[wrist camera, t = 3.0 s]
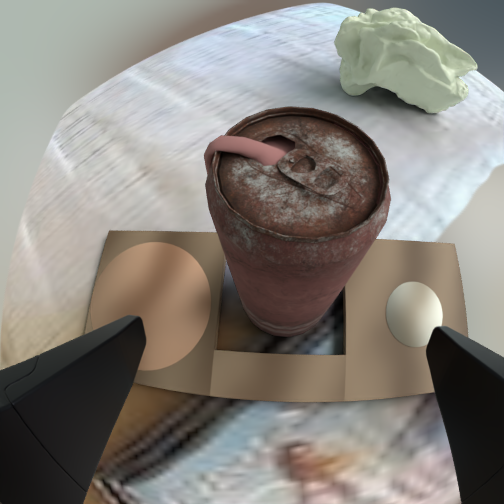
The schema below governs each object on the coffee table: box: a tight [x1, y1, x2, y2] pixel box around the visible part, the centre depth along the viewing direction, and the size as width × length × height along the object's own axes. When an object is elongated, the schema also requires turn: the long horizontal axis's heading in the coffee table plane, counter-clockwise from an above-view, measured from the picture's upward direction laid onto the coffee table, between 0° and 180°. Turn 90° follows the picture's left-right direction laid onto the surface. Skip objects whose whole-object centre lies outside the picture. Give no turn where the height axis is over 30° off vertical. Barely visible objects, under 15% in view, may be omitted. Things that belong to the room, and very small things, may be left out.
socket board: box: [85, 231, 468, 402], centre depth 20 cm, size 30×12×1 cm, turn 86°
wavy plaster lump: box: [334, 8, 477, 113], centre depth 26 cm, size 18×13×16 cm
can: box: [204, 107, 391, 337], centre depth 15 cm, size 6×6×14 cm
